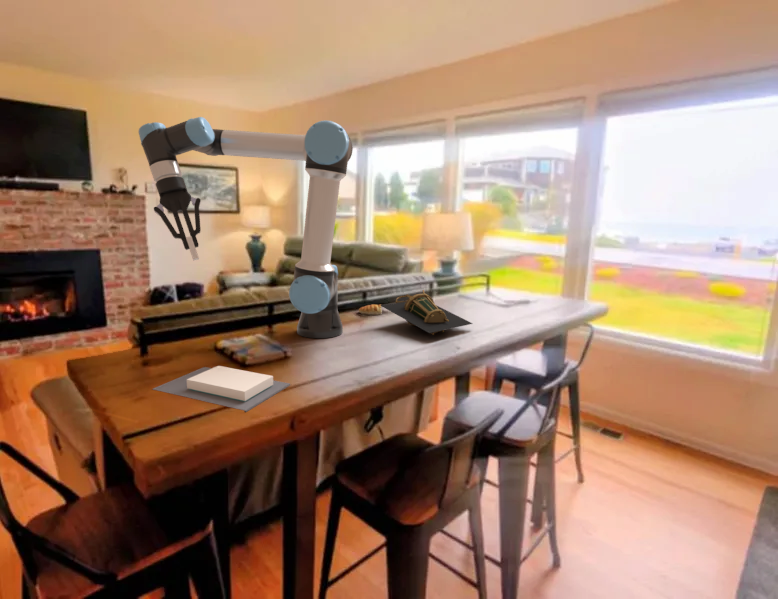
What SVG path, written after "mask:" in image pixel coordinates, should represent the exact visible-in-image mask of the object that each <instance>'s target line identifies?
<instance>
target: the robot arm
mask: <svg viewBox="0 0 778 599" xmlns="http://www.w3.org/2000/svg"><path fill="white" fill-rule="evenodd" d="M138 135H139V140H140V145H141V146H142V149H143V151H144V155H145V157H146V160H147V163H148V167H149V169H150V172H151V176H152V178H153V181H154V182H156V183H155V187H156V190H157V192H158V195H159V204H158V205H157V206H154V207H153V211H154V213H156V214H157V216H159V217H160V219H161V220H162V221H163V223H164V225H165V226H166V227H167V229H168V232H170V234H171V236H172V237H173V238H174V239H177V240H179V239H180V240H181V241H182V244H183V247H184V249H185V250H186V251H187V250H189V253H190V255H191V257H192V260H193V261H197V260H199V259H200V257H199V255H198V251H197V249H196V248H199V245H200V244H199V241H198V239H197V235H199V234H200V233H201V232H202V231H201V219H200V215H201V214H200V207H201V206H200V205H201V198H199V197H197V198H196V197H193V196H192V195H191V193H189V191H188V189H187V186H186V183H185V180H184V178H183V173H182V170H181V169H180V165H179V162H178V159H177V156H179V155H182V154H184V153H188V152H191V151H195V152H199V153H202V154H205V155H207V156H211V157H212V156H213V157H214V156H215V157H216V156H229V157H232V156H233V157H246V158H261V159H273V160H274V159H275V160H291V161H303V162H305V166H304V170H305V171H306V173H307V175H309V176H308V177H309V181H308V190H307V191H308V192H307V200H306V209H305V219H304V229H303V238H302V246H301V247H302V248H301V258H300V260H299V261H298V262H296V263H295V265H294V273H293V274H294V275H293V281H292V283H291V284H290V287H289V292H288V297H289V300H290V302H291V305H293V307H294V309H295V308H296V310H298V311H299V312H301V313H300V316H299V320H298V323H297V325H296V334H297V335H299V336H300V337H303V338H304V337H305V338H311V339H330V338H333V337H335V338H336V337H337V336H340V335H342V334H343V332H344V330H343V329H344V328H343V326H344V325H343V322H342V319H341V316H340V312H339V311H338V306H339V305H338V302H339V301H338V299H339V298H338V297H339V296H338V290H339V289H338V280H339V278H338V276H339V271H338V270H339V269H338V267H337V265H335V264H332V263H331V260H332V252H333V251H332V250H333V243H334V234H335V227H336V217H337V211H338V210H337V209H338V202H339V201H338V200H339V192H340V183H341V180H343V179H344V178H345V177H346V176H347V170H348V163H349V161H350V159H351V157H352V156H353V142H352V140H351V138H350V136H349V135H348V133H347V131H346V129H345V128H344V127H343V126H342V125H341V124H339V123H337V122H335V121H333V120H319V121H317V122H315V123H313V124H311V126H310V127H309V128H308V130H307V131H306V134H295V133H294V134H292V133H278V132H277V133H276V132H264V131H263V132H262V131H260V132H259V131H246V130H230V129H219V128H218V129H217V128H212V126H211V123H210V122H209V121H208V120H207V119H206V118H205V117H203V116H198V117H194V118H189V119H188V120H185V121H183V122H180V123H177V124H174V125H171V126H168V127H166V125H165V124H164V123H162V122H158V121H157V122H156V121H155V122H150V123H149V122H148V123H145V124H143V125H141V126H140V127H139V128H138ZM190 203H192V206H194V208H193V210H194V220H195V221H194V223H195V229H194V226H193V224H192V221H191V218H190V215H189V212H188V209H189V206H190ZM164 208H165V209H166V210H167V211H169V212H170V213H172V215H173V218H174V221H175V224H176V226H177V230H178V231H176V228H174V226H173V225H172V223H171V221H170V220H169V218H168V217H167V215H166V213H164V211H165V210H164ZM180 212H182V216H183V218H184V222H185V224H186V227H187V230H188V233H189V235H190V236H187V235H186V233H185V230H184V228H183V225H182V222H181V218H180V215H179V213H180ZM178 232H179V233H178Z"/></svg>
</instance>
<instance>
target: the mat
mask: <svg viewBox="0 0 778 599" xmlns="http://www.w3.org/2000/svg"><path fill="white" fill-rule="evenodd" d="M212 368H213V367H212ZM212 368H211V367H208V366H207V367H206V366H203V367H201V368H199V369H196V370H194V371H191V372H190V373H187V374H184V375H182V376H179V377H177V378H174V379H172V380H170V381H168V382H165V383H163V384H160V385H158V386H156V387H153V388H152V390H153V391H158V392H163V393H167V394H169V395H170V394H171V395H174V396H175V395H176V396H180V397H185V398H189V399H193V400H196V401H197V400H198V401H202V402H206V403H211V404H214V405H219V406H224V407H228V408H233V409H236V410H241V411H243V413H247V412H249V411H251V410H253V408H256V407H257V406H259V405H261V404H263V403H264V402H266V401H267V400H269V399H271V398H272V397H274V396H275V395H277V394H278V393H280V392H281V391H283V390H285V389H287V388H288V387H289V386H291V383H288V382H283V381H280V380H279V381H278V380H274V379H273V385H272V386H271V387H270V388H268V389H266V390H265V391H263V392H261V393H259V394H258V395H256V396H254V397H252V398H251V399H249V400H247V401H246V402H243V401H238V400H234V399H229V398H225V397H220V396H216V395H211V394H207V393H202V392H198V391H193V390H189V389H188V388H187V379H189V378H191V377H193V376H196V375H198V374H200V373H203V372H205V371H207V370H210V369H212Z"/></svg>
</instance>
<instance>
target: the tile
mask: <svg viewBox="0 0 778 599" xmlns="http://www.w3.org/2000/svg"><path fill="white" fill-rule="evenodd" d="M273 380H274V375H270V374H264V373H259V372H253V371H248V370H242V369H238V368H233V367H227V366H223V365H217V366H213V367H212V369H210V370H207V371H205V372H203V373H200V374H198V375H196V376H193V377H191V378H189V379H187V388H188V389H189V390H193V391H198V392H202V393H207V394H211V395H216V396H220V397H225V398H229V399H234V400H238V401H243V402H246V401H247V400H249V399H251V398H252V397H254V396H256V395H258V394H259V393H261V392H263V391H265V390H266V389H268V388H270V387H271V386H272V385H273Z"/></svg>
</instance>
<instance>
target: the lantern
mask: <svg viewBox="0 0 778 599" xmlns="http://www.w3.org/2000/svg"><path fill="white" fill-rule="evenodd" d="M425 292H426V291H425V290H424V289H423V290H422V293H418V294H417V293H416V294H414V295H410V294H406V295H400V296H398V297H397V298H396V300H395V302H393V303H386V304H381V305H380V306H381V308H384V309H386V310H387V311H390V312H391V313H393V314H394V315H397V316H399V318H402V319H404V320H405V321H406V322H407V325H411V326H412V327H413V326H414V327H418V328H420V329H421V330H423V331H424V332H426V333H428V334H432V335H433V336H434V335H435V334H436V333H439V332H442V333H444V332H445V330H451V329H455V328H460V327H464V326H468V325H473V322H471V321H469V320H467V319H464V318H462V317H461V316H459V315H457V314H454V313H453V312H450V311H449V310H446V309H444V308H443V307H440V306H439V305H437V304H435V301H434V299H433V298H432V297H431V296H430V295H428V294H427V293H425ZM401 298H408V299H407V300H399V299H401Z"/></svg>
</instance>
